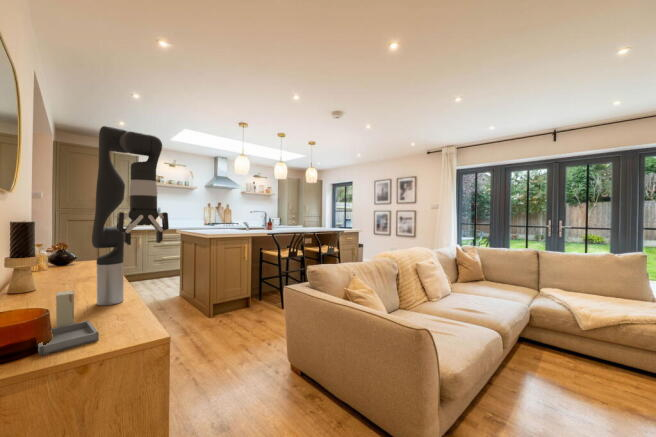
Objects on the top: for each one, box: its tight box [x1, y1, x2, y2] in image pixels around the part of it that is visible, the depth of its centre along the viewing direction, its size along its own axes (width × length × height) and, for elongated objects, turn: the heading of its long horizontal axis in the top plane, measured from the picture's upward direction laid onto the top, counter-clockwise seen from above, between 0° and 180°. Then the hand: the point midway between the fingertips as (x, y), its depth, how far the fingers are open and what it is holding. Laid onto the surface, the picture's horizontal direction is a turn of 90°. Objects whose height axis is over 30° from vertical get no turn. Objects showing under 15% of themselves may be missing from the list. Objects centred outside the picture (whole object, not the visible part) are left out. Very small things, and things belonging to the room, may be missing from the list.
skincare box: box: [55, 290, 75, 328], centre depth 93 cm, size 6×4×12 cm
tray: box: [37, 319, 100, 357], centre depth 85 cm, size 15×13×2 cm
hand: (144, 243), depth 92 cm, fingers open, 8 cm apart
